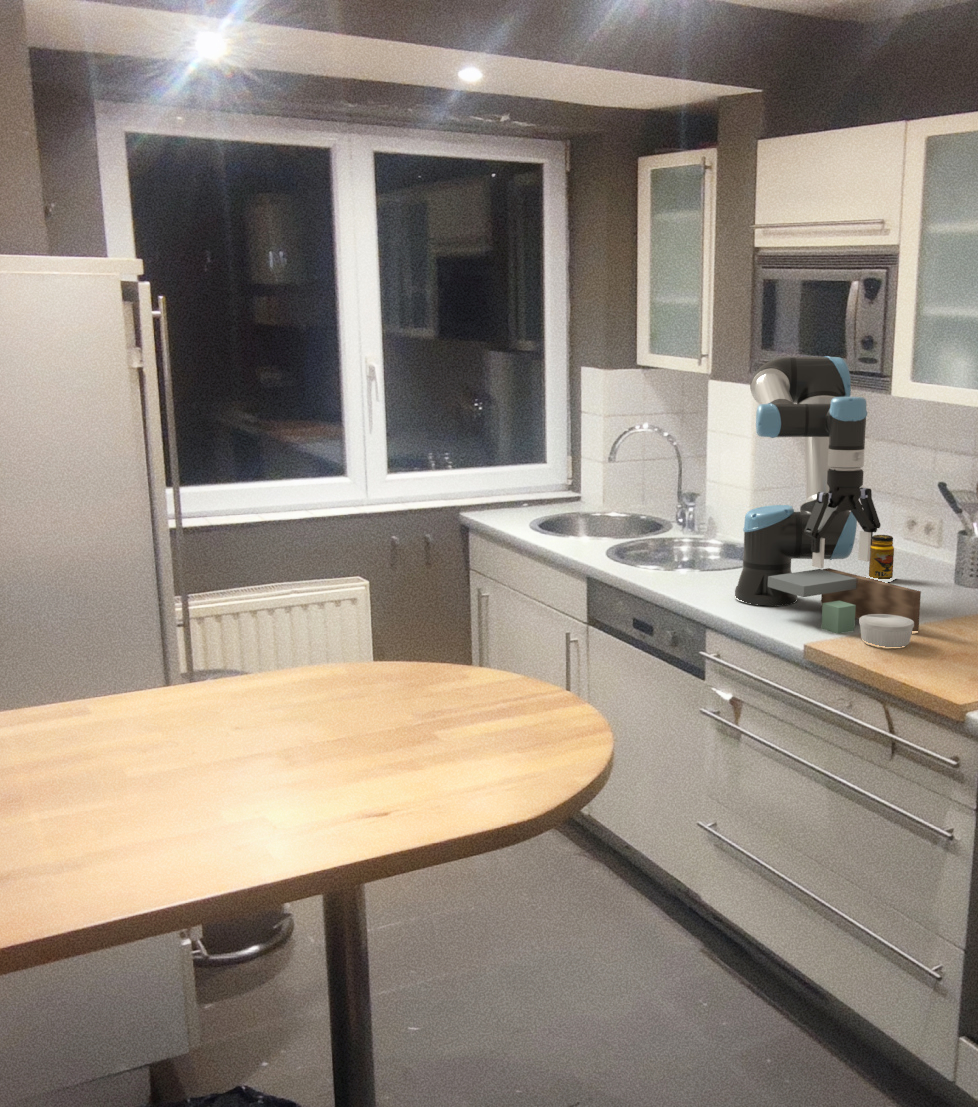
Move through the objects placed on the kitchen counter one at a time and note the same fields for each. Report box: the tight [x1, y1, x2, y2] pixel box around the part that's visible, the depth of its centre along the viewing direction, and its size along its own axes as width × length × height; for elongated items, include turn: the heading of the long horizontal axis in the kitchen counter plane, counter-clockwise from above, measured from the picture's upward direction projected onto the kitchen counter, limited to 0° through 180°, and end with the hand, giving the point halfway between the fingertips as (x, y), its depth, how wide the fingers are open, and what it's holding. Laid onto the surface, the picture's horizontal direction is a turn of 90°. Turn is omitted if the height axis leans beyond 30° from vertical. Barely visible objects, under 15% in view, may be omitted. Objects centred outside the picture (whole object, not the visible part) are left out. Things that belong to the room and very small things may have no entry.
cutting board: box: [820, 567, 922, 632], centre depth 256 cm, size 28×2×10 cm, turn 27°
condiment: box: [868, 534, 895, 579], centre depth 295 cm, size 7×8×12 cm
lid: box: [768, 568, 857, 598], centre depth 258 cm, size 12×16×2 cm
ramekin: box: [858, 614, 914, 647], centre depth 237 cm, size 11×11×5 cm
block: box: [820, 601, 856, 635], centre depth 248 cm, size 5×5×6 cm
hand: (841, 563), depth 245 cm, fingers open, 13 cm apart
